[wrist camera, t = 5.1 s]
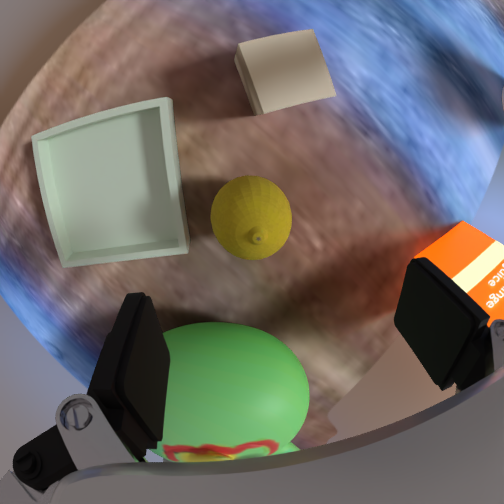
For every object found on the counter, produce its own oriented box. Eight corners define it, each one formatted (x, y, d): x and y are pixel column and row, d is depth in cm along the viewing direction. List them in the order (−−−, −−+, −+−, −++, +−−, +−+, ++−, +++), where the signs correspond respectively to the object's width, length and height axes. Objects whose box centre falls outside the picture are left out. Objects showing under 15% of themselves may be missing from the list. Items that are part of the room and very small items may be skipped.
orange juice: (467, 265, 30) (561, 354, 12) (422, 300, 31) (511, 411, 13) (462, 219, 27) (584, 307, 9) (413, 255, 28) (533, 378, 10)
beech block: (312, 100, 20) (336, 95, 16) (254, 115, 20) (264, 113, 16) (293, 46, 18) (312, 28, 13) (234, 60, 18) (238, 43, 13)
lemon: (199, 210, 23) (191, 253, 16) (236, 154, 21) (246, 171, 14) (253, 242, 25) (268, 294, 18) (291, 191, 23) (324, 225, 16)
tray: (190, 240, 24) (188, 253, 22) (73, 255, 23) (62, 268, 21) (172, 99, 19) (166, 96, 16) (46, 133, 18) (31, 136, 16)
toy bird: (290, 280, 27) (344, 408, 14) (291, 384, 35) (318, 480, 21) (113, 303, 26) (67, 425, 13) (161, 399, 33) (154, 493, 20)
